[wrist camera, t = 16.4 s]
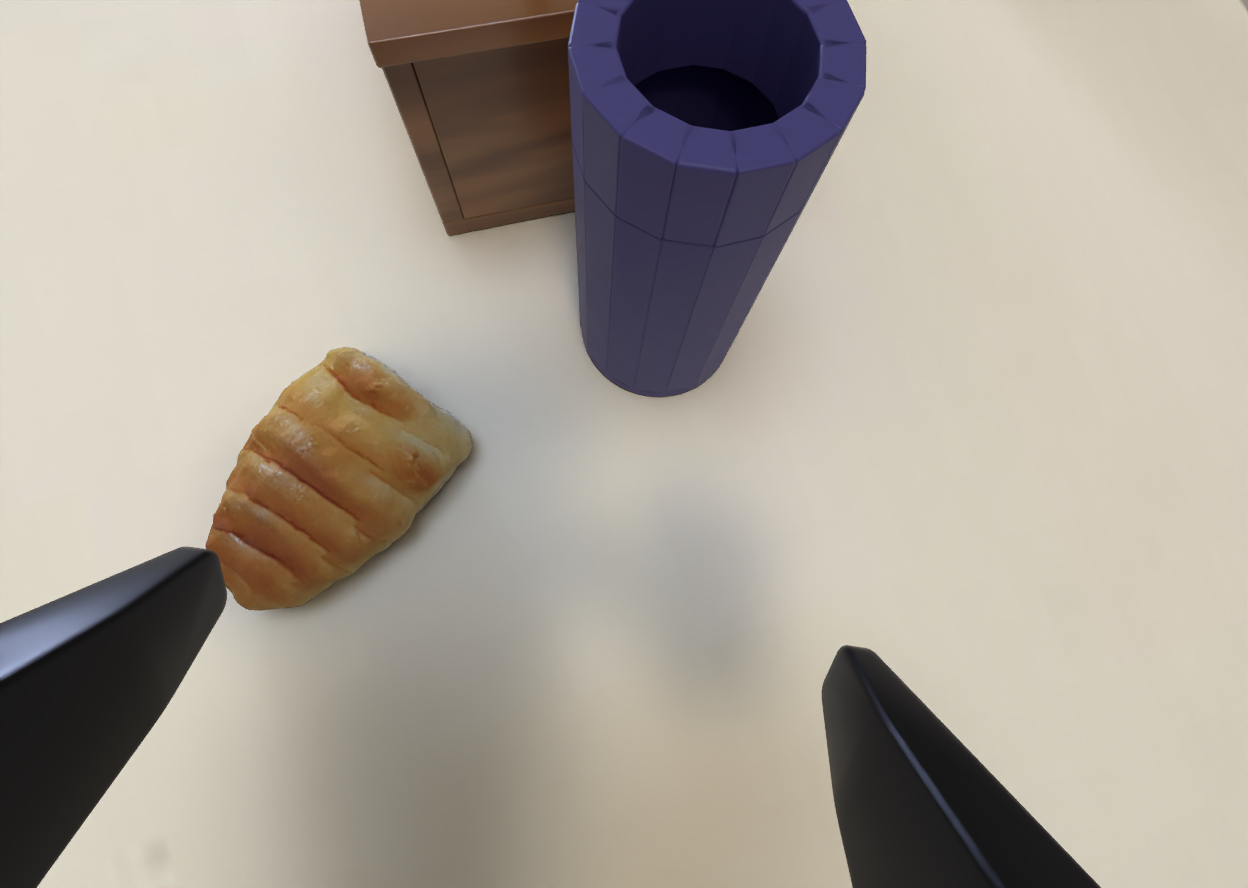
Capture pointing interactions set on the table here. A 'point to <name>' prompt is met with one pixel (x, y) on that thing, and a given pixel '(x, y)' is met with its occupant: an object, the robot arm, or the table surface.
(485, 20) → the bread box lid
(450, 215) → the bread box
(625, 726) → the table surface
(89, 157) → the table surface
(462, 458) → the pastry
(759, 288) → the purple hollow cylinder
